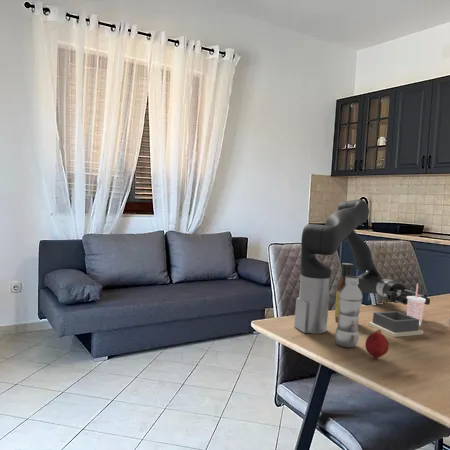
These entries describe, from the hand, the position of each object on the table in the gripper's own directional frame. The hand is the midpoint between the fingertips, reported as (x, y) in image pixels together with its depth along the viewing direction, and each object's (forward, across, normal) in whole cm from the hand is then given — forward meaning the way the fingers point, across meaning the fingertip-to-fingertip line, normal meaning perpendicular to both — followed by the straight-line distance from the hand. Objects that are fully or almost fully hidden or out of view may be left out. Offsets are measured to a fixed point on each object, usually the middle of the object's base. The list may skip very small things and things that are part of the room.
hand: (417, 301), depth 149 cm
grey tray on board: (+5, -11, +8) cm, 14 cm away
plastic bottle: (+18, -35, +8) cm, 40 cm away
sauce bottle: (-4, -25, +8) cm, 26 cm away
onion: (+28, -32, +8) cm, 43 cm away
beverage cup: (-1, 0, +8) cm, 8 cm away
